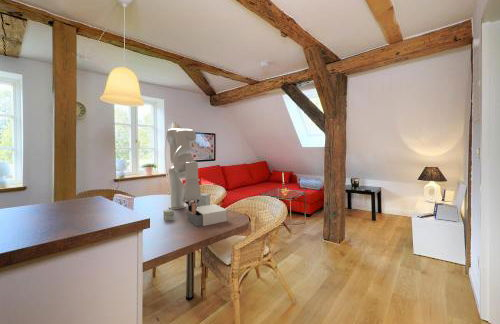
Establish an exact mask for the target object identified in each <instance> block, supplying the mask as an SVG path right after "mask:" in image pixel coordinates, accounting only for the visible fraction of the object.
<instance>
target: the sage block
mask: <svg viewBox="0 0 500 324" xmlns="http://www.w3.org/2000/svg"><path fill="white" fill-rule="evenodd" d="M163 220H164V221H165V222H170V221H174V209H170V208H169V209H163Z"/></svg>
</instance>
